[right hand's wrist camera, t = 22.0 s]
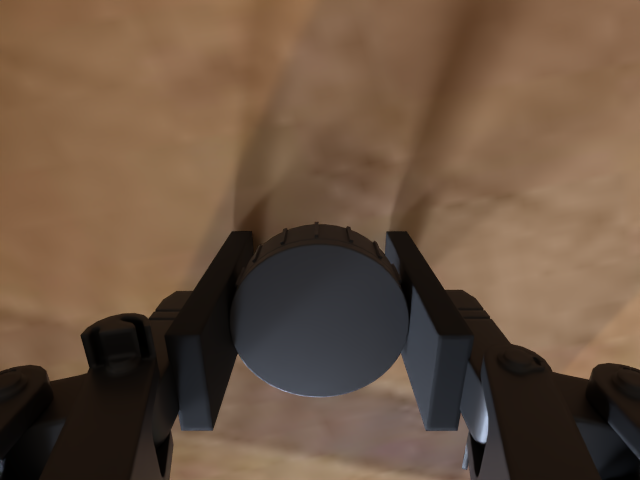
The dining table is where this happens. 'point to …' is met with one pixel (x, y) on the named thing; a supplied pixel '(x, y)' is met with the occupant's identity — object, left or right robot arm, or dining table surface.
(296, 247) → the lid
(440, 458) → the dining table surface
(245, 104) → the dining table surface
